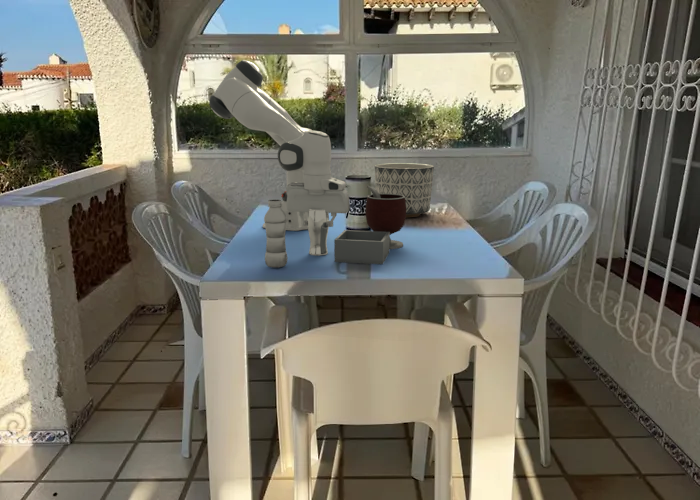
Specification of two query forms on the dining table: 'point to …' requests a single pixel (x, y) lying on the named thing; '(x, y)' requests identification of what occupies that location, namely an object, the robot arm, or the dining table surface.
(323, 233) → the beer glass
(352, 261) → the bin
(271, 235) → the plastic bottle
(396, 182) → the planter
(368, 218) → the mate gourd
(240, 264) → the dining table surface
